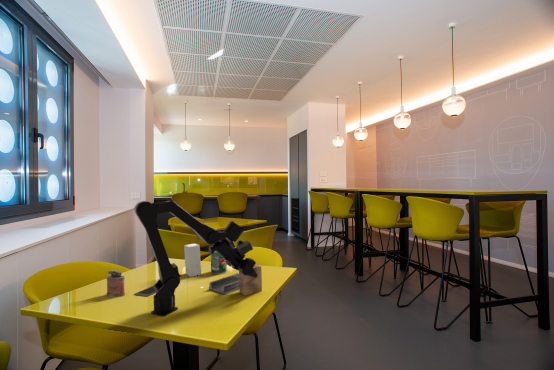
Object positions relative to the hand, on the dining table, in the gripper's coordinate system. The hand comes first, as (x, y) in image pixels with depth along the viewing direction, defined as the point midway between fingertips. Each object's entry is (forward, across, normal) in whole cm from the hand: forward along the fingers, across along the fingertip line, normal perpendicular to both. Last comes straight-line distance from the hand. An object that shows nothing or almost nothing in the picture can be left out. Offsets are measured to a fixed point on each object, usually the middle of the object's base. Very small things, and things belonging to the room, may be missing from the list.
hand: (253, 274), depth 117 cm
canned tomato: (+3, +35, +7) cm, 36 cm away
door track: (+1, +10, +9) cm, 13 cm away
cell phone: (-20, +26, +30) cm, 44 cm away
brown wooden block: (+4, 0, +6) cm, 7 cm away
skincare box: (-6, +39, +15) cm, 42 cm away
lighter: (-30, +29, +39) cm, 57 cm away
